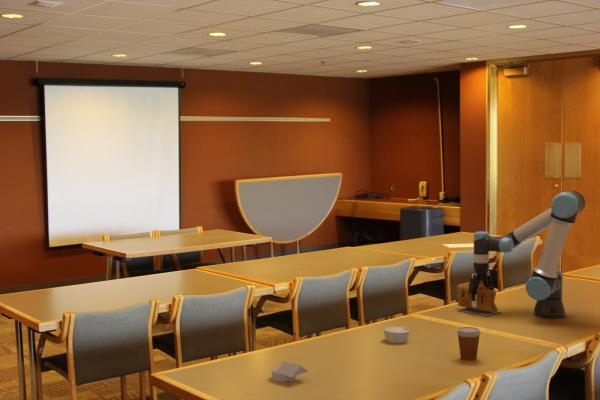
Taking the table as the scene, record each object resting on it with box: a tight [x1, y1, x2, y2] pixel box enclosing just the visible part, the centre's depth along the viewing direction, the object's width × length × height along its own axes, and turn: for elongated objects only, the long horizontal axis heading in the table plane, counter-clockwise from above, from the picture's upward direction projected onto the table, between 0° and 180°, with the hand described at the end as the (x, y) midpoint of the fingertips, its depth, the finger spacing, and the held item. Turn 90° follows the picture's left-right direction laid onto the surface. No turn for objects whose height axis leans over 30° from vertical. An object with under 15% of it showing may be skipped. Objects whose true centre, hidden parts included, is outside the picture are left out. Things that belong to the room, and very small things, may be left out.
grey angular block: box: [271, 360, 309, 383], centre depth 290 cm, size 9×7×13 cm
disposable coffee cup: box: [456, 326, 482, 362], centre depth 314 cm, size 10×10×12 cm
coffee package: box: [456, 281, 499, 312], centre depth 395 cm, size 10×12×22 cm
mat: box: [457, 307, 502, 318], centre depth 395 cm, size 18×12×1 cm, turn 41°
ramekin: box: [383, 326, 410, 345], centre depth 342 cm, size 11×11×5 cm
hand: (480, 305), depth 394 cm, fingers closed on coffee package, 9 cm apart
